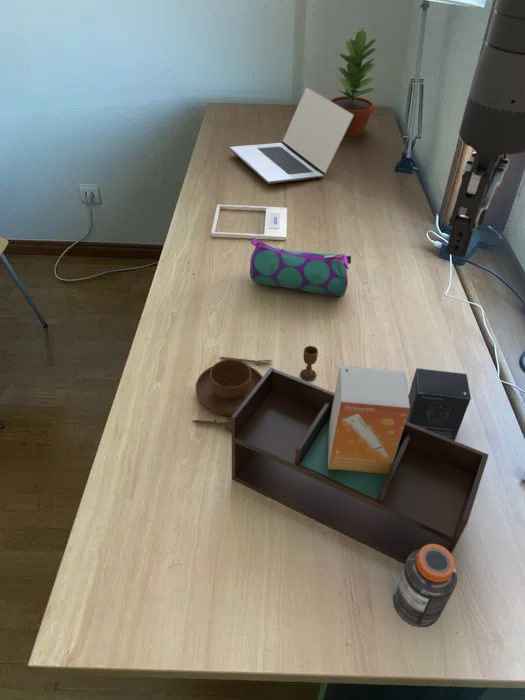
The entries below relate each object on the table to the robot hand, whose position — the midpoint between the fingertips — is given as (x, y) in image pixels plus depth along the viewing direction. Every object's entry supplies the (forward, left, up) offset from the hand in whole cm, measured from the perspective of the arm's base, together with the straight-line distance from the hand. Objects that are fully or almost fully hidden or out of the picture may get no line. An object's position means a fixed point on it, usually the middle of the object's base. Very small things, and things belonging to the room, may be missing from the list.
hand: (464, 238), depth 67 cm
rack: (+4, +16, -36) cm, 40 cm away
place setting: (+25, +5, -36) cm, 44 cm away
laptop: (+64, -82, -36) cm, 110 cm away
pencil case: (+33, -28, -36) cm, 56 cm away
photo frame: (+55, -46, -36) cm, 80 cm away
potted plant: (+58, -118, -36) cm, 136 cm away
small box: (+3, +16, -26) cm, 31 cm away
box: (-3, -3, -36) cm, 37 cm away
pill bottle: (-10, +26, -36) cm, 46 cm away
